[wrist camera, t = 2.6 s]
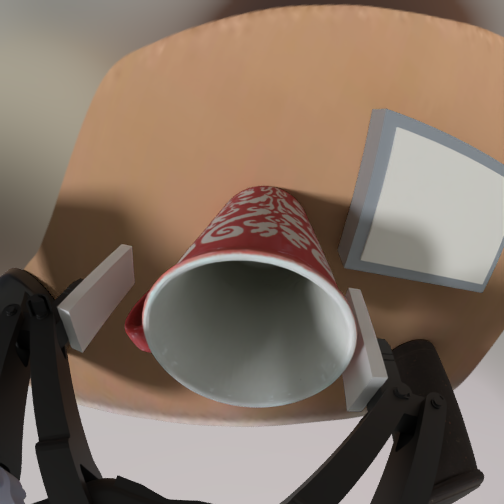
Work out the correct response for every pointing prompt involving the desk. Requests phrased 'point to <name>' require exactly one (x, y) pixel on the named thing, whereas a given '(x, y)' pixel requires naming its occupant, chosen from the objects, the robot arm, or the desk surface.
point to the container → (455, 434)
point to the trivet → (424, 206)
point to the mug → (249, 308)
